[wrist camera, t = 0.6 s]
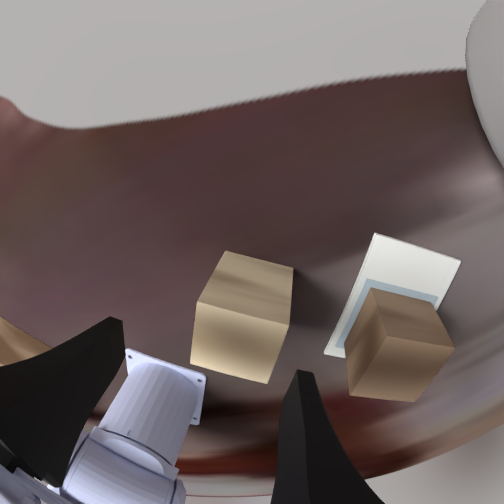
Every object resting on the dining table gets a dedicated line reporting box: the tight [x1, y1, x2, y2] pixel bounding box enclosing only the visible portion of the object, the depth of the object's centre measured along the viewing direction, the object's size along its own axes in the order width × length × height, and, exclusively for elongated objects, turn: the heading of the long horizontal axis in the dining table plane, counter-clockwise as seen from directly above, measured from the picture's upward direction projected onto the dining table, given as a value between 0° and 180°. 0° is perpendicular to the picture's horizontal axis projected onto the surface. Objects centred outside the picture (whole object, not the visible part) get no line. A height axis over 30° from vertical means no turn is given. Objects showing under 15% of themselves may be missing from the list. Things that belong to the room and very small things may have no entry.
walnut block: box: [344, 287, 455, 402], centre depth 17 cm, size 5×5×5 cm
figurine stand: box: [0, 317, 53, 366], centre depth 29 cm, size 12×16×6 cm
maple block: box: [190, 251, 293, 384], centre depth 18 cm, size 4×4×6 cm
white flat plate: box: [324, 233, 461, 358], centre depth 19 cm, size 10×7×1 cm
